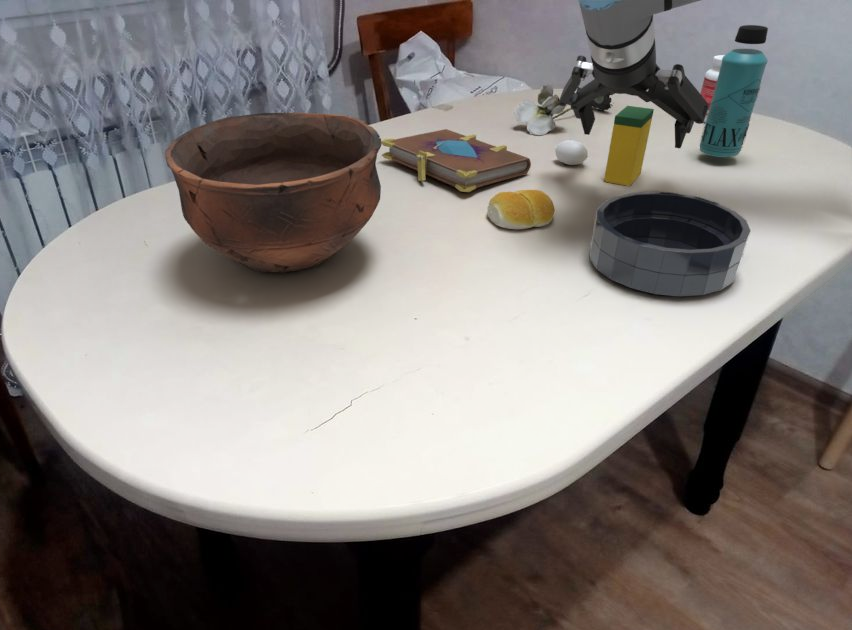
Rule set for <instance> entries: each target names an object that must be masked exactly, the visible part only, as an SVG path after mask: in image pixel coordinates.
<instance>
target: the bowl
mask: <svg viewBox="0 0 852 630" xmlns="http://www.w3.org/2000/svg"><path fill="white" fill-rule="evenodd" d="M381 141H382V138H381V136H380V135H379V133H378V131H377V130H376V129H375V128H373V126H371V125H369V124H367V122H366V121H364V120H363V119H361V118H360V119H359V118H358V117H354V116H349V115H346V114H338V113H336V114H334V113H316V112H315V113H312V112H261V113H253V114H251V113H250V114H244V115H243V114H242V115H235V116H227V117H222V118H219V119H216V120H213V121H211V122H208V123H204V124H202V125H199V126H197V127H194V128H192V129H190V130H188V131H186V132H184V133H182V134H181V135H179V136H178V137H176V138H175V139H174V140H173V141H171V142H170V144H169V145H168V147H167V148H166V149H165V155H164V158H165V161H166V165H167V167H168V168H169V169H170V170H171V173H172V176H173V178H174V180H175V181H174V182H175V185H176V187H177V190H178V195H179V201H180V207H181V212H182V216H183V219H184V221H186V223H187V224H188V225H189V227H190V229H191V230H192V231H193V232H194V233H195V235H196V236H198V238H199V239H200V240H201V241H202V242H203V243H205V244H206V245H207V246H208V247H210V248H212V249H213V250H214V251H216V252H217V253H219V254H220V255H222V256H224V257H227V258H229V259H231V260H234V261H235V262H237V263H238V264H242V265H245V266H247V268H250V269H252V270H254V271H256V272H262V273H278V274H280V273H281V274H282V273H289V272H296V271H301V270H306V269H310V268H313V267H316V266H318V265H320V264H322V263H324V262H325V261H327V260H328V259H329V258H330V257H332V256H333V255H335V254H336V253H337V252H339V250H341V249H343V248H344V247H345V246H346V245H347V244H348V243H349V242H351V241H352V240H353V239H354V238H355V237H356V236H357V235H358V234H359V233H360V232H361V231H362V229H363V228H364V227H365V226H366V225H367V224H368V222H369V221H370V219H371V218H372V217H373V215H374V213H375V211H376V210H377V207H378V205H379V203H380V200H381V195H382V194H381V193H382V192H381V191H382V185H381V181H380V177H379V173H378V170H377V169H378V168H377V157H378V153H379V151H380V149H381V147H382V144H381Z"/></svg>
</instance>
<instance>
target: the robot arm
mask: <svg viewBox="0 0 852 630" xmlns="http://www.w3.org/2000/svg"><path fill="white" fill-rule="evenodd" d="M700 1H701V0H578V2H579V8H580V12H581V16H582V21H583V26H584V29H585V35H586V39H587V43H588V48H589V53H590V59H591V62H588V61H587V57H586V56H585V55H578V56H577V57H576V60H575V62H574V65H573V68H572V71H571V75H570V77H569V79H568V80H567V82H566V83H565V85H564V86H563V89H562V92H561V94H560V97H559V102H558V104H559V105H560V106H566V105H567V106H570V108H571V109H572V110H573V114H574V117H575V118H576V119H579V120H580V123H581V126H582V130H583V135H588V136H590V135H591V131H592V130H593V126H594V124H595V121H596V116H595V113H594V108H593V107H592V103H591V101H592V100H594V99H596V98H597V97H599V96H601V97H603V96H604V95H606V94H607V93H609V92H614V93H615V95H616V94H617V95H629V96H634V97H638V98H639V99H641V100H642V101H643V102H645V103H650V102H651V103H652V104H654V105H655V106H657V107H658V109H661V110H662V111H663V112H665V113H666V114H668V115H669V116H670V117H672V118H673V119H674V120H675V121H674V148H675V149H682V145H683V143H684V140H685V137H686V135H687V134H690V133H691V131H692V129H693V126H694V123H695V124H698V125H702V124H704V123H705V122H704V119H705V117H706V114H707V111H708V108H709V104H708V103H707V101H706V100H705V99H704V98H703V97H702V95H701V92H700V91H699V90H698V89H697V88H696V87H695V86H694V84H693V83H692V82H691V80H690V79H689V78H688V77H687V76H686V74H685V68H684V66H683V65H682V64H680V63H675V64H674V65H673V67H672V69H661V68H660V66H659V65H658V63H657V48H656V32H655V31H656V30H655V21H654V19H655V18H654V15H657V14H660V13H664V12H668V11H670V10H673V9H676V8H680V7H683V6H687V5H690V4H694V3H697V2H700ZM590 75H592V77H593V79H592V80H591V81H589V82H588V83H587V84H585V85H583V86H582V87H580V85H581V83H582V81H585V80H586V78H588V77H589V76H590ZM567 106H566V107H567Z"/></svg>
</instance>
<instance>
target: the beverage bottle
mask: <svg viewBox="0 0 852 630" xmlns="http://www.w3.org/2000/svg"><path fill="white" fill-rule="evenodd" d="M768 31H769V28H768V27H767V26H764V25H757V24H756V25H755V24H746V25H740V26H739V27H738V30H737V32H736V35H735V39H734V42H736V43H738V44H739V43H740V44H744V45H763V44H765V43H766V41H767V35H768ZM724 55H725V56H724V57H723V58H722V64H721V67H720V71H719V75H718V79H717V83H716V87H715V91H714V95H713V98H712V102H711V104H710V105H709V106H710V109H709V112H707V115H708V116H707V117H706V118H707V120H706V123H703V130H702V132H701V136H700V142H699V151H700V152H701V153H703V154H704V155H708V156H711V157H712V156H713V157H717V158H719V157H720V158H732V157H736V156H739V154H740V153H741V151H742V149H743V147H744V143H745V142H746V140H745V139H746V137H747V135H748V131H749V128H750V122H751V119H752V113H753V112H754V111H753V110H754V107H755V105H756V103H757V102H758V100H757V99H758V97H759V93H760V91H761V84H762V79H763V76H764V73H765V70H766V66H767V64H768V57H767V56H766V54H765V53H764V52H763V51H762V50H759V49H754V48H733V49H732V50H730V51H728V52H727V53H726V54H724Z"/></svg>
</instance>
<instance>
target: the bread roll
mask: <svg viewBox="0 0 852 630" xmlns="http://www.w3.org/2000/svg"><path fill="white" fill-rule="evenodd" d="M486 210H487V211H486V215H487V217H488V218H489V220H490V221H491V222H492V224H494V225H496V226H498V227H499V228H503V229H508V230H526V229H530V228H533V227H535V228H540V227H541V228H542V227H544V226H547V225H549V224H550V223H551V222H552V220H553V219H554V217H555V213H556V208H555V204H554V201H553V200H552V199H551V197H550V196H549V195H548V194H547V193H545V192H543V191H542V190H540V189H539V190H538V189H521V190H516V191H501V192H498V193H496V194H495V195H494V196H493V197H491V198H490V200H489V202H488V205H487V209H486Z"/></svg>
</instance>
